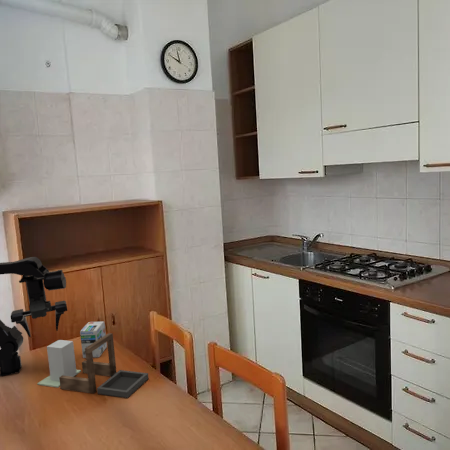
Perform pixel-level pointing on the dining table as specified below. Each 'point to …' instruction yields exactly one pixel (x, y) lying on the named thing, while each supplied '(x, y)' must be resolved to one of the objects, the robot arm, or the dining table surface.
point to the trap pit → (123, 384)
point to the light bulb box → (93, 337)
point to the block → (61, 359)
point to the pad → (52, 383)
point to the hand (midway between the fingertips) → (43, 333)
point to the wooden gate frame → (92, 368)
